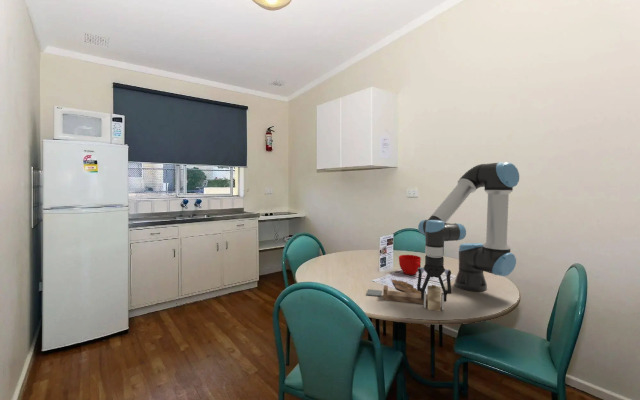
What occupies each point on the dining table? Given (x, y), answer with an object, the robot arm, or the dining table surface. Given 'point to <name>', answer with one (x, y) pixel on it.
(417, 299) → the plank
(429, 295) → the cream tall block
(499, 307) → the dining table surface
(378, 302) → the dining table surface
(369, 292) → the mat
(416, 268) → the ceramic cup
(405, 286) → the wooden fragment
